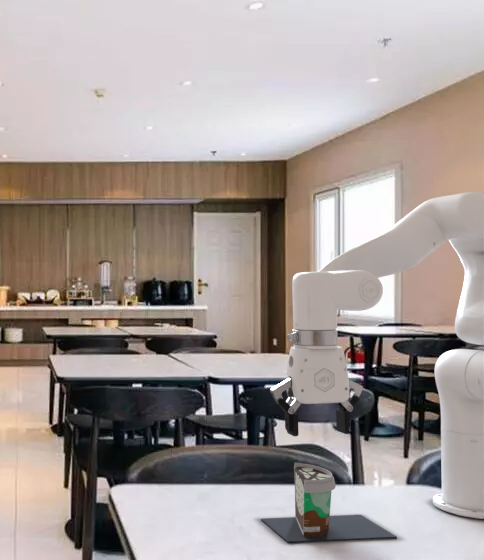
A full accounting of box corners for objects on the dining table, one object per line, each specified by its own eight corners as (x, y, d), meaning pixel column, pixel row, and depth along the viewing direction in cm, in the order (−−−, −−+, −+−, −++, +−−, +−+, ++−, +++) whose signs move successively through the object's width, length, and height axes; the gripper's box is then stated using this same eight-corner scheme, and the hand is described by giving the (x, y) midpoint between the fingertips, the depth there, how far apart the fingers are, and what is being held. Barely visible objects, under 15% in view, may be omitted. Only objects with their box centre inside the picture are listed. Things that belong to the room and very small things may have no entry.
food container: (342, 542, 106) (342, 483, 106) (304, 539, 107) (304, 480, 107) (328, 517, 118) (327, 464, 118) (294, 514, 119) (293, 462, 119)
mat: (360, 516, 119) (360, 514, 119) (397, 538, 108) (397, 536, 108) (260, 520, 117) (260, 518, 117) (287, 543, 106) (287, 541, 106)
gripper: (279, 342, 108) (281, 440, 108) (371, 339, 110) (374, 436, 110) (261, 339, 116) (263, 431, 116) (348, 336, 118) (350, 426, 118)
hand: (317, 433), depth 113 cm, fingers open, 9 cm apart
